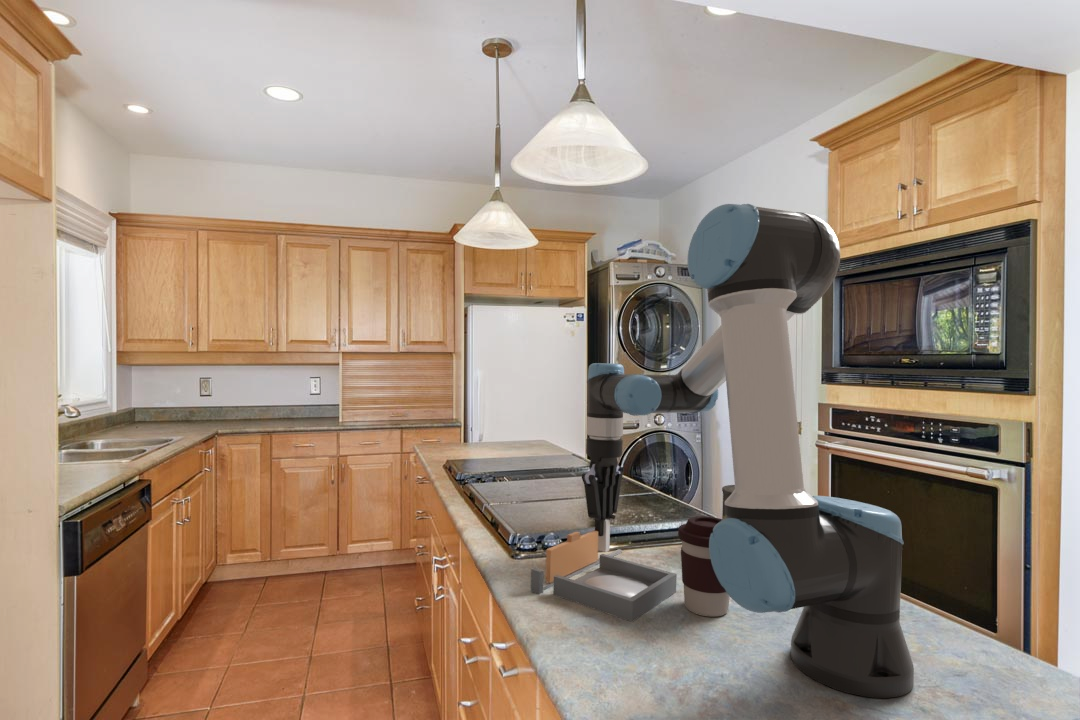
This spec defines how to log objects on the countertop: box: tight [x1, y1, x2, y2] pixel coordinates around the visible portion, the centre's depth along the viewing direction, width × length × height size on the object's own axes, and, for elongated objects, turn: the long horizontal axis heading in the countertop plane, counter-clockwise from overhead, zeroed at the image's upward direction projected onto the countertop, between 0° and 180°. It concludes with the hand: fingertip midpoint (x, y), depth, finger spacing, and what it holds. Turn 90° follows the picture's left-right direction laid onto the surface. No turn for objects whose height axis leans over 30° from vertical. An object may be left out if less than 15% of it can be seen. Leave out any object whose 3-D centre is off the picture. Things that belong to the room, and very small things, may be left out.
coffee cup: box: [677, 515, 731, 618], centre depth 100 cm, size 10×10×15 cm
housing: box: [530, 548, 678, 623], centre depth 111 cm, size 20×30×4 cm
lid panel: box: [545, 529, 599, 583], centre depth 114 cm, size 1×16×7 cm, turn 142°
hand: (602, 549), depth 122 cm, fingers closed
